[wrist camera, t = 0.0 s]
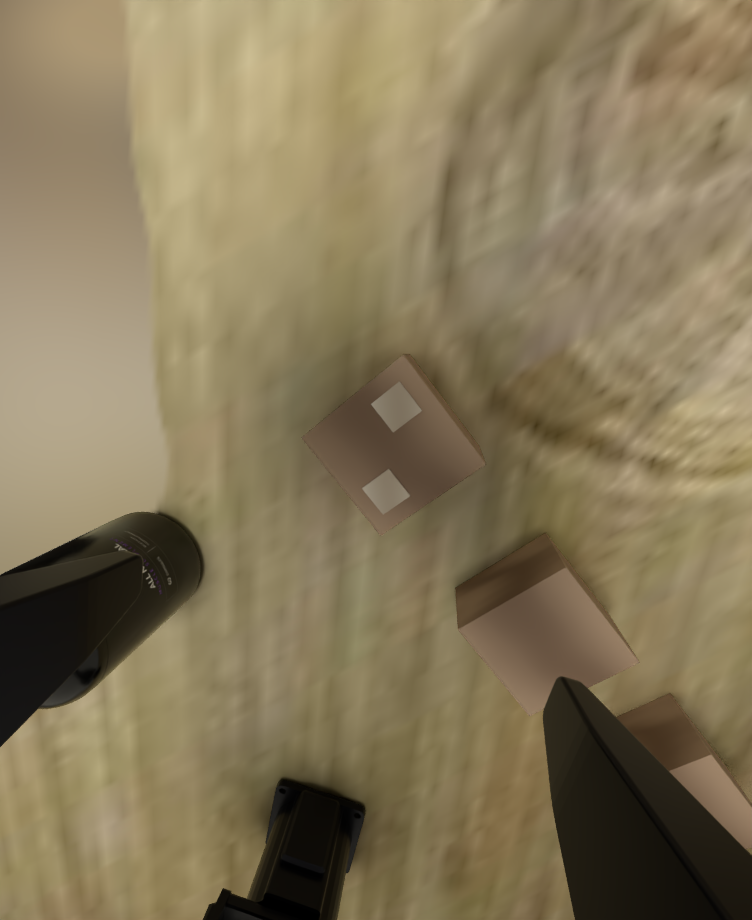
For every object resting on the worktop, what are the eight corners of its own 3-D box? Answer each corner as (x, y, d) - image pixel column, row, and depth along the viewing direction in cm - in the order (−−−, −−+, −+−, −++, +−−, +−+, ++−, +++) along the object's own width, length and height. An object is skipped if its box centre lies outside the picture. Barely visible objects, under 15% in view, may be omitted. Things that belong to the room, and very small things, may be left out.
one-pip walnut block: (629, 799, 26) (662, 878, 22) (574, 732, 26) (598, 800, 22) (724, 763, 25) (778, 841, 21) (668, 690, 24) (712, 756, 20)
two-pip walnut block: (390, 506, 24) (380, 536, 20) (324, 423, 23) (300, 437, 19) (478, 444, 22) (486, 465, 18) (410, 354, 21) (402, 354, 18)
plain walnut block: (515, 660, 25) (529, 716, 21) (455, 586, 24) (457, 629, 20) (607, 611, 23) (640, 662, 19) (544, 531, 23) (565, 567, 19)
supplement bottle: (212, 526, 26) (26, 666, 14) (197, 617, 28) (22, 806, 16) (111, 494, 26) (-147, 603, 15) (103, 585, 28) (-130, 745, 17)
